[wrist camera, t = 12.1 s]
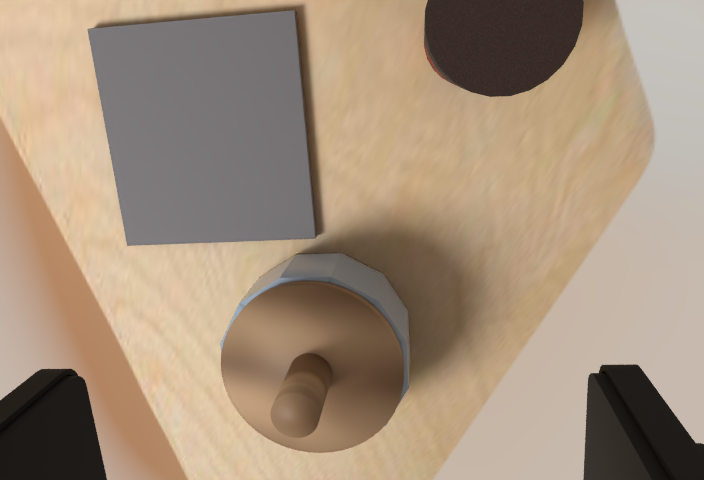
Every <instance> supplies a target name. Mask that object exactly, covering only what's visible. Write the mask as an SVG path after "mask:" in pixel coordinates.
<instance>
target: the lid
mask: <svg viewBox="0 0 704 480" xmlns="http://www.w3.org/2000/svg"><path fill="white" fill-rule="evenodd" d="M221 371H222V378H223V382H224V386H225V388H226V391H227V394H228V396H229V398H230V400H231V402H232V404H233V405H234V407H235V408H236V410H237V411H238V413H239V414H240V415H241V416H242V418H243V419H244V420H245V421H246V422H247V423H248V424H249V425H250V426H251V427H253V428H254V429H255V430H256V431H257V432H259V433H260V434H262V435H263V436H264V437H266V438H268V439H270V440H272V441H273V442H275V443H278V444H280V445H282V446H285V447H288V448H291V449H295V450H299V451H305V452H315V453H325V452H335V451H340V450H345V449H348V448H351V447H354V446H356V445H358V444H361V443H363V442H364V441H366V440H368V439H369V438H371V437H373V436H374V435H375V434H376V433H377V432H379V431H380V430H381V429H382V428H383V427H384V426H385V425H386V424H387V422H388V421H389V420H390V418H391V417H392V415H393V414H394V412H395V410H396V408H397V406H398V404H399V401H400V398H401V395H402V390H403V383H404V358H403V352H402V349H401V345H400V342H399V339H398V337H397V335H396V333H395V331H394V329H393V327H392V326H391V324H390V322H389V321H388V320H387V319H386V317H385V316H384V315H383V314H382V312H381V311H380V310H379V309H377V308H376V307H375V306H374V305H373V304H372V303H371V302H369V301H368V300H367V299H365V298H364V297H363V296H361V295H359V294H357V293H356V292H354V291H352V290H350V289H347V288H345V287H342V286H340V285H336V284H333V283H329V282H323V281H315V280H302V281H292V282H288V283H284V284H280V285H277V286H275V287H272V288H270V289H268V290H266V291H264V292H262V293H260V294H259V295H258V296H256V297H255V298H254V299H252V300H251V301H250V302H249V303H248V304H247V305H246V306H245V307H244V308H243V309H242V311H241V312H240V313H239V315H238V316H237V317H236V319H235V320H234V321H233V323H232V324H231V326H230V328H229V330H228V332H227V334H226V337H225V340H224V342H223V347H222V352H221Z"/></svg>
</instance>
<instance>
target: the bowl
mask: <svg viewBox="0 0 704 480" xmlns="http://www.w3.org/2000/svg"><path fill="white" fill-rule="evenodd" d="M302 280H315V281H323V282H329V283H333V284H336V285H340V286H342V287H345V288H347V289H350V290H352V291H354V292H356V293H357V294H359V295H361V296H363V297H364V298H365V299H367V300H368V301H369V302H371V303H372V304H373V305H374V306H375V307H376V308H377V309H379V310H380V311H381V312H382V314H383V315H384V316H385V317H386V319H387V320H388V321H389V322H390V324H391V326H392V327H393V329H394V331H395V333H396V335H397V337H398V339H399V342H400V345H401V349H402V352H403V358H404V383H403V390H402V395H401V398H400V401H401V399H402V398H403V396H404V394H405V393H406V391H407V389H408V388H409V367H410V339H409V318H408V310H407V308H406V307H405V305H404V304H403V302H402V301H401V299H400V298H399V297H398V295H397V294H396V292H395V291H394V289H393V288H392V286H391V285H390V283H389V282H388V280H387V279H386V278H385V276H384V275H383V274H382V273H380V272H378V271H376V270H374V269H372V268H370V267H368V266H366V265H364V264H362V263H360V262H358V261H356V260H354V259H352V258H350V257H348V256H346V255H344V254H342V253H324V254H296V255H294V256H293V257H291V258H289V259H288V260H286V261H285V262H283V263H281V264H280V265H278V266H277V267H275V268H274V269H272V270H270V271H269V272H267V273H266V274H264V275H263V276H261V277H259V279H258V280H257V281H256V283H255V284H254V285H253V286H252V288H251V289H250V290H249V291H248V293H247V294H246V295H245V296H244V298H243V299H242V300H241V302H240V303H239V305H238V307H237V309H236V311H235V313H234V316H233V318H232V320H231V322H230V324H229V326H228V329H227V331H226V333H225V335H224V337H223V339H222V342H221V351H222V347H223V342H224V340H225V337H226V334H227V332H228V330H229V328H230V326H231V324H232V323H233V321H234V320H235V319H236V317H237V316H238V315H239V313H240V312H241V311H242V309H243V308H244V307H245V306H246V305H247V304H248V303H249V302H250V301H251V300H252V299H254V298H255V297H256V296H258V295H259V294H260V293H262V292H264V291H266V290H268V289H270V288H272V287H275V286H277V285H280V284H284V283H288V282H292V281H302ZM400 401H399V403H400ZM387 423H388V422H387ZM385 426H386V425H385Z"/></svg>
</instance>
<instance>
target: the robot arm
mask: <svg viewBox="0 0 704 480" xmlns="http://www.w3.org/2000/svg"><path fill="white" fill-rule="evenodd" d="M586 416H587V417H586V438H585V440H586V441H585V461H584V480H704V444H701V443H695V442H694V440H693V439H692V438H691V436H690V435H689V434H688V432H687V431H686V430H685V428H684V427H683V425H682V424H681V423H680V421H679V420H678V419H677V417H676V416H675V415H674V413H673V412H672V410H671V409H670V408H669V406H668V405H667V404H666V402H665V401H664V400H663V398H662V397H661V396H660V394H659V393H658V391H657V390H656V388H655V387H654V386H653V384H652V383H651V382H650V380H649V379H648V377H647V376H646V375H645V373H644V372H643V371H642V369H641V368H640V367H639V366H638V365H602V366H601V367H600V370H599V373H591V374H590V375H589V378H588V393H587V415H586ZM0 480H107V478H106V473H105V469H104V464H103V460H102V455H101V450H100V446H99V442H98V437H97V432H96V428H95V423H94V418H93V414H92V409H91V404H90V400H89V395H88V391H87V386H86V383H85V380H84V379H83V378H82V377H80V376H78V374H77V373H76V372H75V371H74V370H72V369H41V370H39V371H38V372H36V373H35V374H33V375H32V376H31V377H30V378H28V379H27V380H26V381H25V382H23V383H22V384H21V385H20V386H18V387H17V388H16V389H14V390H13V391H12V392H11V393H9V394H8V395H7V396H5V397H4V398H3V399H2V400H0Z"/></svg>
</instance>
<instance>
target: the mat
mask: <svg viewBox="0 0 704 480" xmlns="http://www.w3.org/2000/svg"><path fill="white" fill-rule="evenodd" d="M88 34H89V40H90V45H91V50H92V56H93V61H94V67H95V72H96V78H97V83H98V89H99V94H100V99H101V105H102V110H103V116H104V121H105V127H106V132H107V138H108V143H109V149H110V154H111V159H112V165H113V170H114V176H115V181H116V187H117V192H118V198H119V203H120V209H121V214H122V219H123V225H124V230H125V236H126V241H127V246H133V245H159V244H186V243H212V242H238V241H264V240H291V239H315V238H316V237H317V233H316V222H315V211H314V200H313V189H312V178H311V168H310V157H309V146H308V135H307V124H306V113H305V102H304V91H303V80H302V69H301V58H300V47H299V36H298V25H297V14H296V11H295V10H290V11H279V12H268V13H257V14H246V15H235V16H224V17H213V18H202V19H191V20H180V21H169V22H158V23H147V24H136V25H125V26H114V27H103V28H92V29H88Z"/></svg>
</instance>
